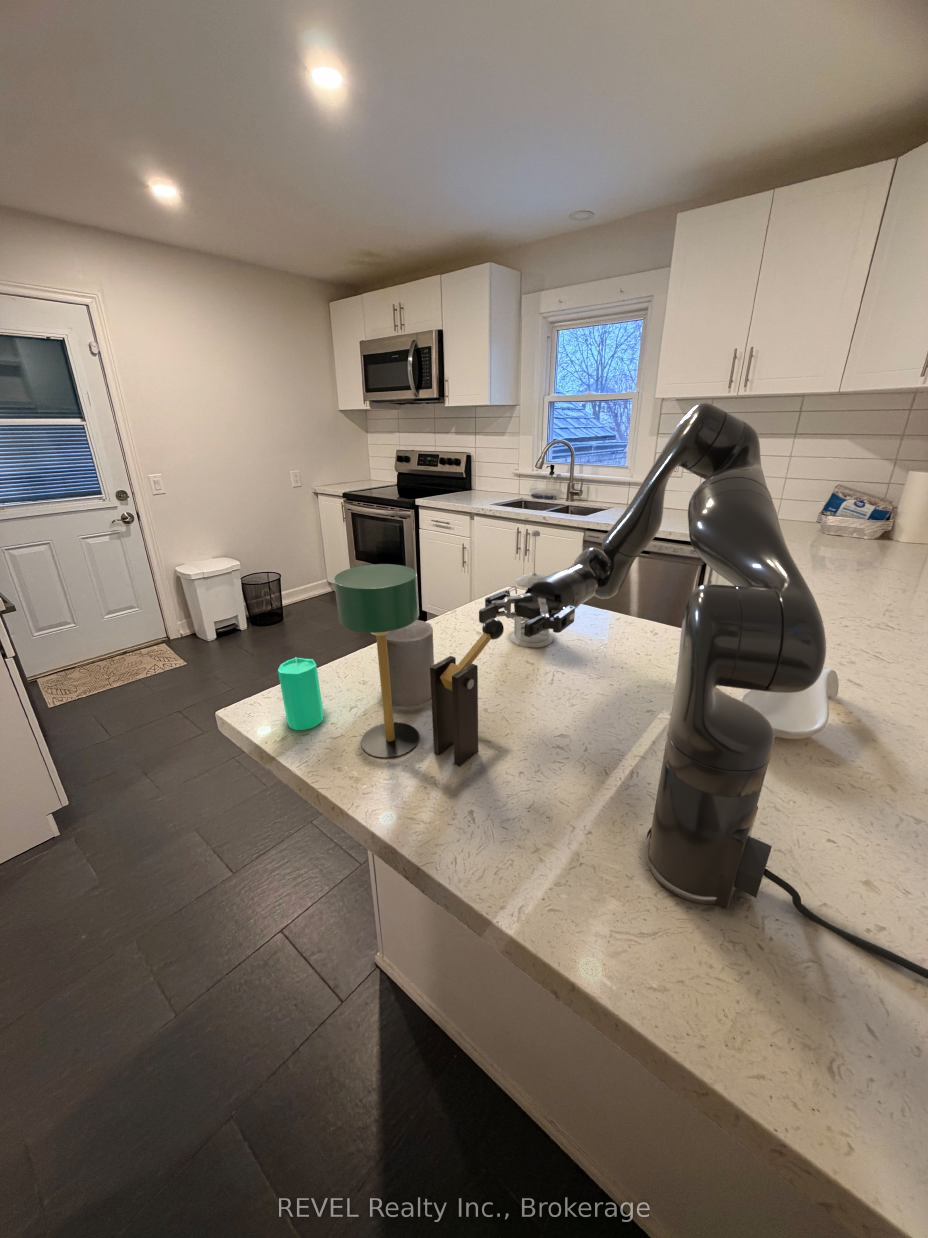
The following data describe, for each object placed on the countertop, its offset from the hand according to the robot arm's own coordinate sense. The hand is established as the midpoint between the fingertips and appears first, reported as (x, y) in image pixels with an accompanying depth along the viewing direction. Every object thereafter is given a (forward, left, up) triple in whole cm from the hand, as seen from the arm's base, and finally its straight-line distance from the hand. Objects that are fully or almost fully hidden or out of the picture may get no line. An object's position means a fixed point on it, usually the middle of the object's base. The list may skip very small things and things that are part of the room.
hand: (502, 624), depth 75 cm
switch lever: (0, +6, -4) cm, 7 cm away
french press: (+15, -31, -18) cm, 39 cm away
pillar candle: (+18, +4, -18) cm, 26 cm away
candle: (+27, +20, -18) cm, 38 cm away
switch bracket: (0, +12, -18) cm, 22 cm away
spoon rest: (-37, -32, -18) cm, 53 cm away
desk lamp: (+8, +16, -18) cm, 25 cm away
